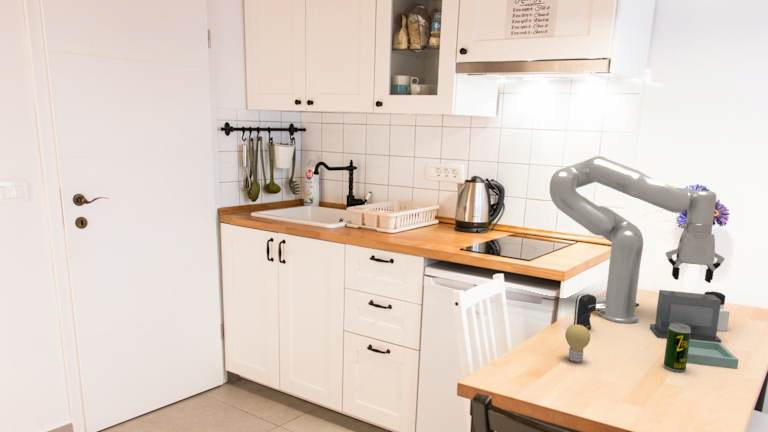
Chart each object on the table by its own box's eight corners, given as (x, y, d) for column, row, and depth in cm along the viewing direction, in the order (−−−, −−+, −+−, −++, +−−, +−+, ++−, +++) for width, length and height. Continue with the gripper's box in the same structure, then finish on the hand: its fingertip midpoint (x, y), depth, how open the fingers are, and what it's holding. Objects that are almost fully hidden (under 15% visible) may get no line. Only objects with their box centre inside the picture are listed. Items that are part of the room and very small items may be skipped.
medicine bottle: (727, 331, 183) (732, 296, 181) (705, 330, 183) (710, 295, 181) (714, 324, 190) (719, 290, 188) (693, 323, 190) (698, 289, 188)
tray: (685, 362, 154) (686, 353, 154) (671, 345, 167) (672, 337, 167) (737, 368, 152) (738, 359, 152) (719, 351, 165) (720, 342, 164)
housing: (657, 337, 173) (662, 295, 171) (649, 328, 182) (654, 288, 180) (720, 344, 170) (726, 302, 168) (709, 334, 179) (715, 294, 177)
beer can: (658, 365, 152) (664, 323, 150) (674, 363, 153) (680, 321, 152) (674, 373, 147) (680, 330, 145) (690, 371, 148) (696, 328, 146)
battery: (583, 333, 173) (586, 298, 172) (572, 330, 176) (575, 295, 175) (595, 329, 178) (598, 295, 176) (584, 326, 181) (588, 292, 179)
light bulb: (557, 357, 154) (561, 322, 152) (575, 354, 156) (579, 320, 155) (574, 366, 148) (578, 330, 146) (592, 363, 150) (596, 328, 149)
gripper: (673, 228, 177) (666, 280, 180) (732, 232, 174) (724, 285, 176) (666, 224, 184) (659, 274, 187) (723, 229, 181) (716, 280, 184)
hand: (691, 280), depth 182 cm, fingers open, 9 cm apart
